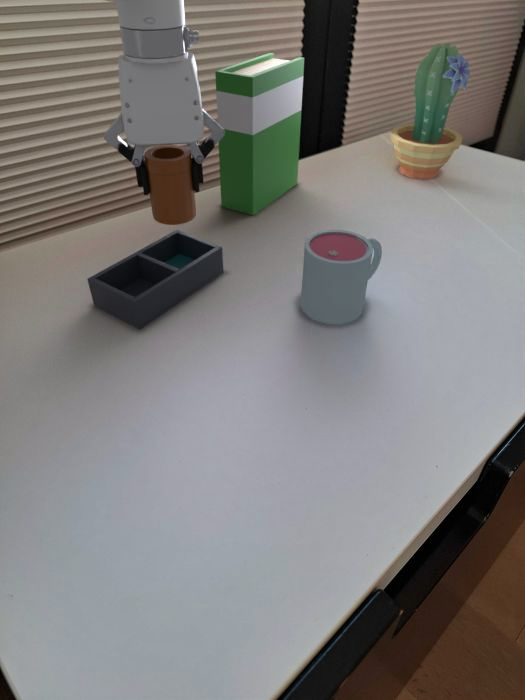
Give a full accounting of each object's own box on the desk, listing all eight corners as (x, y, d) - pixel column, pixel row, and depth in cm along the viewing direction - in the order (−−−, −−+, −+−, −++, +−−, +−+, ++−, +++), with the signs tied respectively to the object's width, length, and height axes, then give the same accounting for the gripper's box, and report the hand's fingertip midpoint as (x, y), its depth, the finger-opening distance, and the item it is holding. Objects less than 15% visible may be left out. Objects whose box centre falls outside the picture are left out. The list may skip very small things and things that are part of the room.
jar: (144, 217, 73) (134, 154, 68) (173, 202, 77) (167, 141, 71) (175, 229, 71) (168, 165, 65) (204, 213, 75) (200, 151, 69)
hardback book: (267, 176, 112) (269, 52, 96) (297, 184, 109) (304, 57, 93) (221, 206, 100) (215, 71, 85) (252, 215, 97) (252, 77, 82)
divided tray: (94, 306, 75) (87, 278, 72) (179, 255, 86) (176, 229, 83) (139, 330, 70) (134, 302, 67) (223, 273, 82) (222, 246, 79)
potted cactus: (389, 184, 109) (413, 51, 93) (379, 157, 121) (399, 36, 105) (461, 185, 109) (498, 53, 93) (444, 159, 121) (474, 37, 104)
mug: (329, 332, 70) (337, 271, 64) (288, 301, 76) (291, 241, 70) (397, 299, 77) (410, 240, 70) (354, 272, 82) (362, 215, 76)
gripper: (224, 35, 64) (229, 175, 75) (82, 38, 61) (110, 182, 73) (231, 47, 58) (235, 197, 70) (75, 51, 56) (107, 205, 68)
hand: (171, 188), depth 71 cm, fingers closed on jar, 6 cm apart
